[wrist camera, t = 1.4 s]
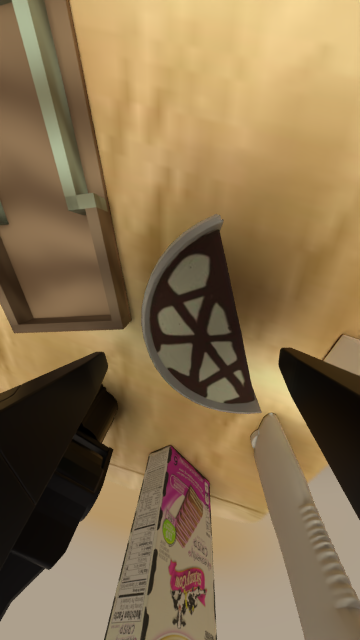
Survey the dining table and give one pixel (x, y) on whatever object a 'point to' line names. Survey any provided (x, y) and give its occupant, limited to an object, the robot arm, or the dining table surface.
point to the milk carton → (346, 354)
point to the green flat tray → (52, 182)
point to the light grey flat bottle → (304, 541)
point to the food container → (198, 323)
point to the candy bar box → (167, 558)
